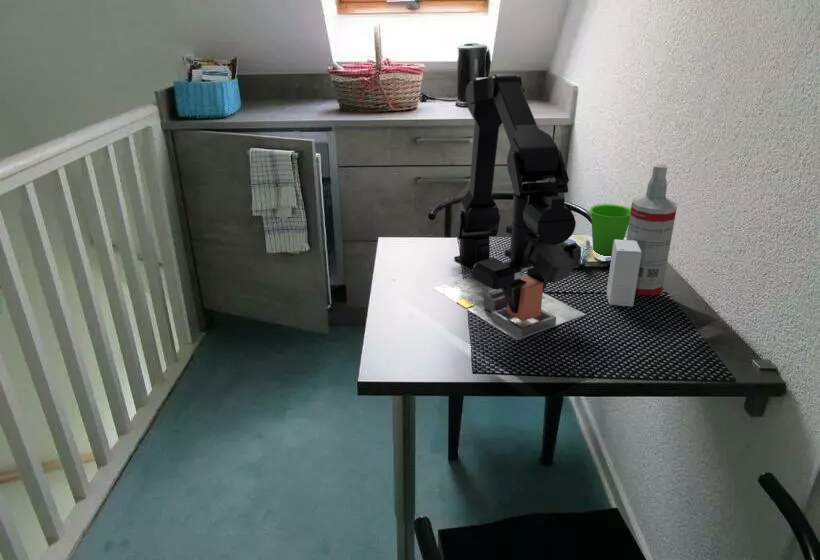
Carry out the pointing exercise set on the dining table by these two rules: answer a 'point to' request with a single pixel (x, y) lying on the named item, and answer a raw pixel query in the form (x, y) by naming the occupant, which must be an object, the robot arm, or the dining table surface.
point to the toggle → (495, 300)
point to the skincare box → (623, 272)
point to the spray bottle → (652, 232)
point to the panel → (472, 299)
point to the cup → (608, 226)
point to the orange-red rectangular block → (529, 299)
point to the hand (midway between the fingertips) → (523, 309)
